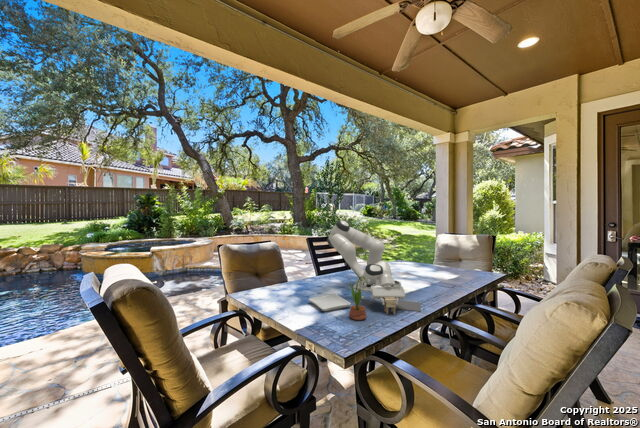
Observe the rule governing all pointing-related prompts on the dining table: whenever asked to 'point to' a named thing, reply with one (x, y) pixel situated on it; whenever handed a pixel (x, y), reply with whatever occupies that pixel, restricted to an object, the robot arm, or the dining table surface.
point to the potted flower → (358, 311)
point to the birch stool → (390, 304)
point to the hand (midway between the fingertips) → (390, 305)
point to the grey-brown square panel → (408, 306)
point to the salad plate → (329, 302)
